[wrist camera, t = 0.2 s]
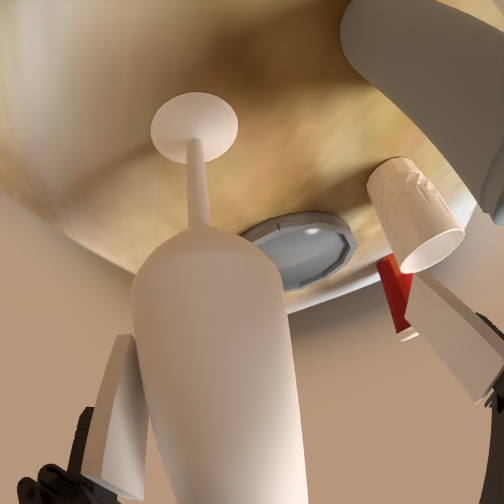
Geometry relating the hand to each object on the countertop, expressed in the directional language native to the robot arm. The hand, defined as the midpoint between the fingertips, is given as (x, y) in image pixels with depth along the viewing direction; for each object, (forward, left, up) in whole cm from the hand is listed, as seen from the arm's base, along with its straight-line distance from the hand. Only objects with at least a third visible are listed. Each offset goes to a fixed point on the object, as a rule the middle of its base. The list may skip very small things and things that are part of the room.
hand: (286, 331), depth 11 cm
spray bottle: (-8, +12, -15) cm, 21 cm away
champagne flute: (0, -3, -15) cm, 16 cm away
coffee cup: (+30, +27, -15) cm, 43 cm away
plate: (+21, +6, -15) cm, 26 cm away
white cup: (+8, +17, -15) cm, 24 cm away
